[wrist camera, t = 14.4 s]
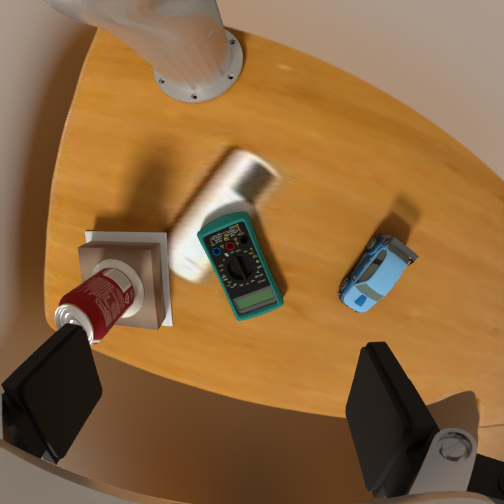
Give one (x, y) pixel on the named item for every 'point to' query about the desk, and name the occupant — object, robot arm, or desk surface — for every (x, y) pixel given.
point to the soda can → (97, 303)
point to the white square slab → (142, 237)
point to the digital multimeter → (240, 265)
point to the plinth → (130, 276)
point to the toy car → (375, 272)
